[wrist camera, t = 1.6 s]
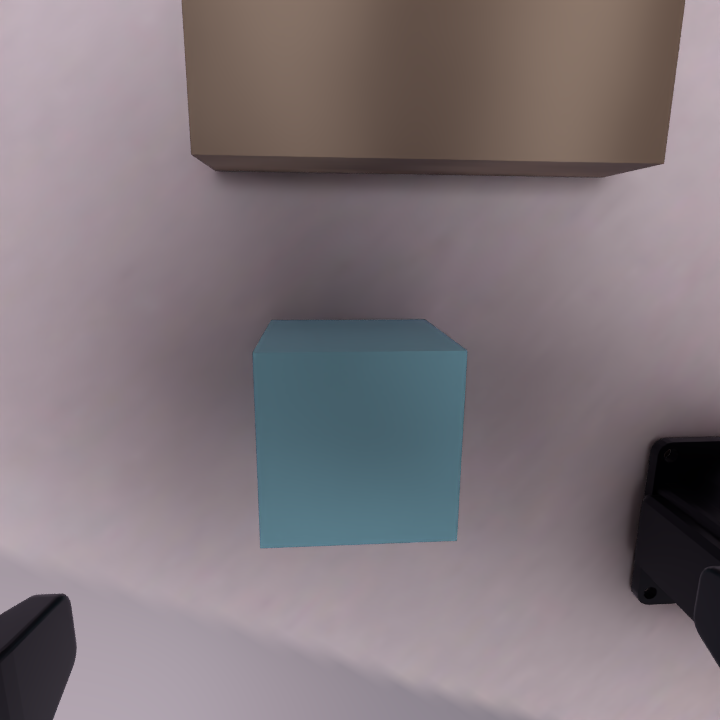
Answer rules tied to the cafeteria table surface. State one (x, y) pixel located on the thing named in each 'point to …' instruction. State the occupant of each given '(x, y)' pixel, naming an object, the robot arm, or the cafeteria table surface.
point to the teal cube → (358, 432)
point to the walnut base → (431, 85)
